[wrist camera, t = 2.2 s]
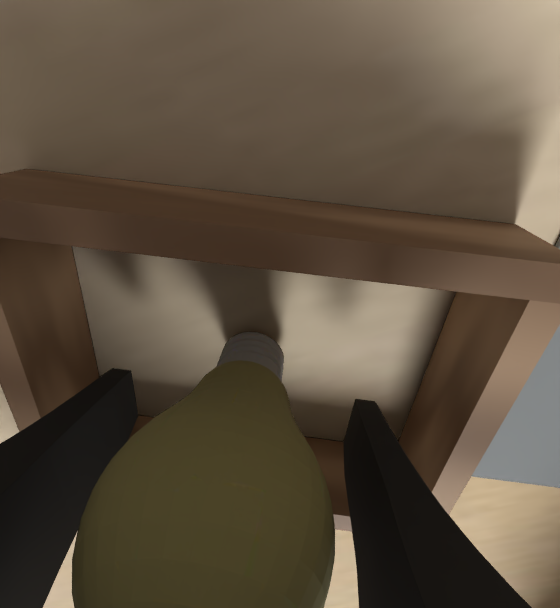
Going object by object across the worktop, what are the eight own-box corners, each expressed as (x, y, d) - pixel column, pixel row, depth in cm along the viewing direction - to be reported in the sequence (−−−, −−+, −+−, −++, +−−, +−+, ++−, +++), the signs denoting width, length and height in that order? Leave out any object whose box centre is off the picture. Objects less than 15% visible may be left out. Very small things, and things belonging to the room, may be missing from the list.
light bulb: (270, 256, 12) (172, 611, 4) (350, 362, 14) (411, 756, 6) (160, 327, 14) (-79, 673, 5) (244, 413, 16) (166, 765, 7)
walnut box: (411, 464, 17) (432, 542, 14) (89, 423, 17) (42, 489, 14) (515, 224, 11) (592, 267, 8) (26, 169, 11) (-78, 190, 8)
